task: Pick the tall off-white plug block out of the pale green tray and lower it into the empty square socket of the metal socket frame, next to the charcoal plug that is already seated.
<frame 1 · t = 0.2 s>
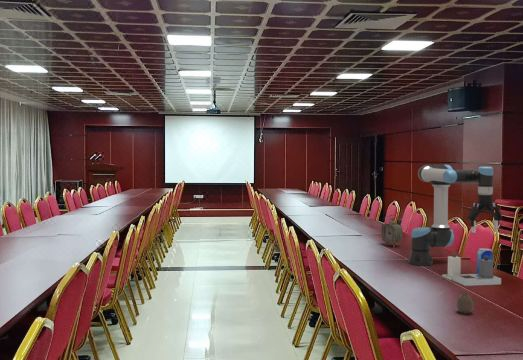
hand: (484, 232, 274), 27 cm above the table, tool pointing down, fingers open, 13 cm apart
grey rounded lump: (464, 312, 217), on the table
tray: (453, 279, 278), on the table
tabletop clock: (392, 246, 385), on the table
plug: (453, 278, 278), point 1 cm above the table, touching tray
twin plug: (485, 281, 269), point 1 cm above the table, touching metal socket frame
beer can: (484, 277, 285), on the table
metal socket frame: (476, 283, 268), on the table
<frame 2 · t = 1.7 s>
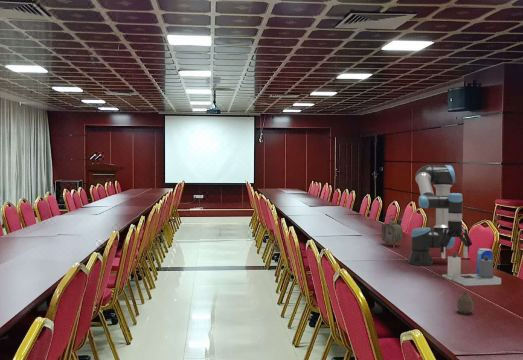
hand: (454, 258, 277), 12 cm above the table, tool pointing down, fingers open, 13 cm apart
nothing on the table moved.
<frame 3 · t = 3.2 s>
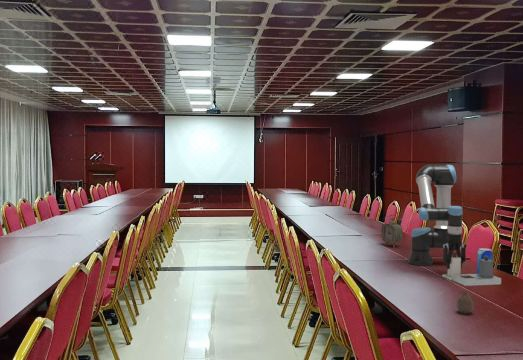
hand: (454, 274, 278), 3 cm above the table, tool pointing down, fingers closed on plug, 5 cm apart
plug: (453, 278, 278), point 1 cm above the table, touching gripper, tray
everything else where it was.
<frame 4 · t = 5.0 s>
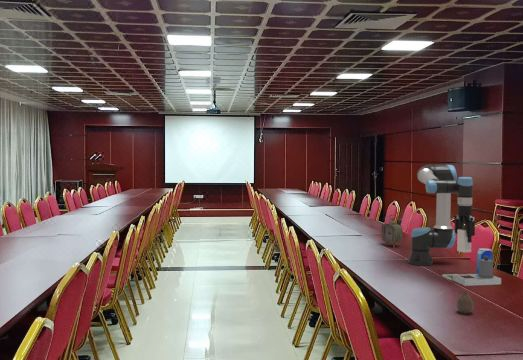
hand: (464, 247, 269), 20 cm above the table, tool pointing down, fingers closed on plug, 5 cm apart
plug: (464, 251, 269), point 17 cm above the table, touching gripper
everything else where it was.
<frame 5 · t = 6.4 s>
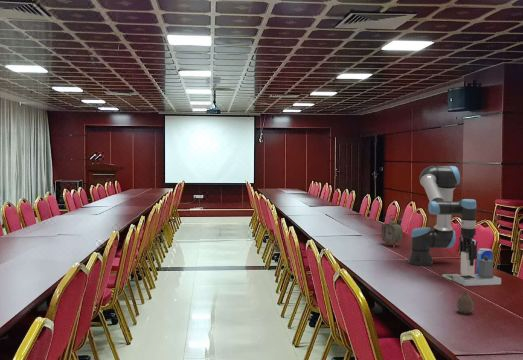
hand: (467, 270, 267), 8 cm above the table, tool pointing down, fingers closed on plug, 5 cm apart
plug: (467, 274, 267), point 5 cm above the table, touching gripper
everything else where it was.
when the fingers open (5 cm above the table, at t = 7.1 s): plug drops 2 cm, resting on metal socket frame.
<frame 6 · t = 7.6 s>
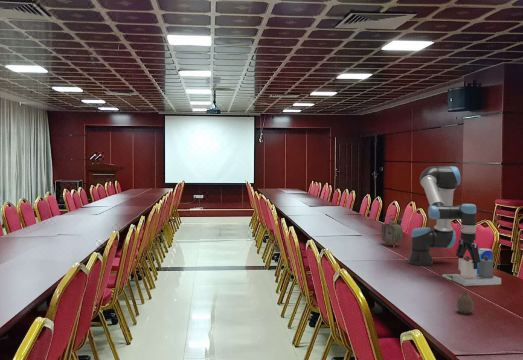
hand: (467, 272, 267), 6 cm above the table, tool pointing down, fingers open, 11 cm apart
plug: (467, 282, 267), point 1 cm above the table, touching metal socket frame
everything else where it was.
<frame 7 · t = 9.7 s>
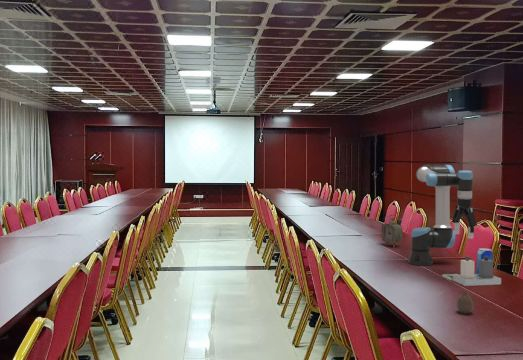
hand: (463, 236, 273), 25 cm above the table, tool pointing down, fingers open, 13 cm apart
nothing on the table moved.
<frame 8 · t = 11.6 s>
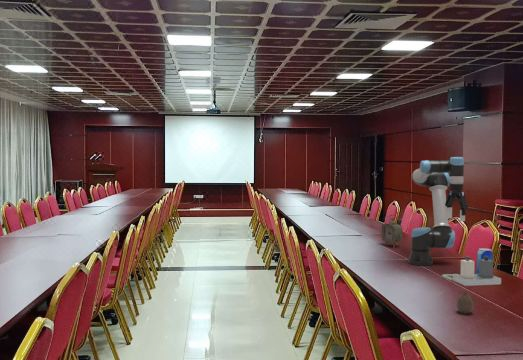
hand: (455, 219, 287), 33 cm above the table, tool pointing down, fingers open, 13 cm apart
nothing on the table moved.
at the end: plug 0.0 cm from the target spot, point 0.9 cm above the table; plug tilted 0°; twin plug moved 0.0 cm from its start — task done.
